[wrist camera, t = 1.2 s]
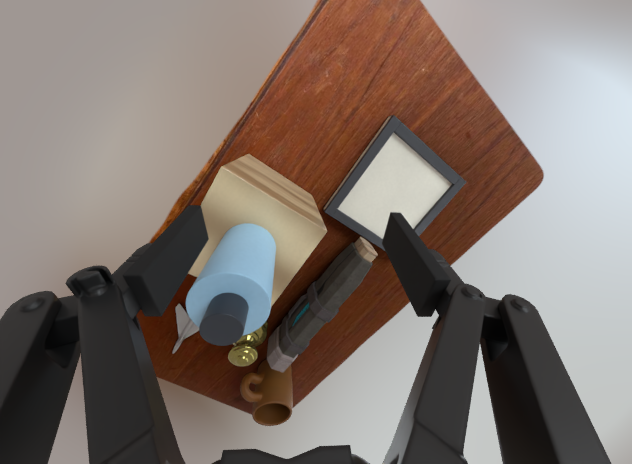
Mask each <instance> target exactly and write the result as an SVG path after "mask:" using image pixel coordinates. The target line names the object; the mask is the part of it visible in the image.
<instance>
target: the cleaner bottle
mask: <svg viewBox="0 0 632 464" xmlns="http://www.w3.org/2000/svg"><path fill="white" fill-rule="evenodd" d="M275 255H276V244H275V241H274V238H273V237H272V235H271V234H270V233H269V232H268V231H267V230H266V229H264V228H263V227H261V226H258V225H255V224H249V223H244V224H239V225H236V226H234V227H232V228H230V229H229V230H228V231H227V232H226V233H225V235H224V236H223V238H222V239H221V241H220V243H219V244H218V246H217V247H216V249H215V251H214V252H213V254H212V255H211V257H210V258H209V260H208V262H207V263H206V265H205V266H204V268H203V270H202V271H201V273H200V274H199V276H198V278H197V279H196V281H195V282H194V284H193V286H192V287H191V289H190V290H189V292H188V294H187V298H186V310H187V313H188V315H189V317H190V319H191V320H192V321H193V323H194V324H195V325H196V326H198V327H199V332H200V335H201V336H202V338H203V339H204V340H205V341H207V342H209V343H211V344H214V345H219V346H225V345H230V344H233V343H235V342H237V341H238V340H239V339H240V338H241V337H242V336H244V335H247V334H250V333H252V332H254V331H256V330H257V329H259V328H260V327H261V326H262V325H263V324H264V323H265V322H266V320H267V318H268V316H269V314H270V310H271V299H272V288H273V277H274V266H275Z"/></svg>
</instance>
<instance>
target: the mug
mask: <svg viewBox="0 0 632 464" xmlns="http://www.w3.org/2000/svg"><path fill="white" fill-rule="evenodd" d="M250 383H253V384H255V391H253V392H252V391H251V390H250V389H249V384H250ZM240 392H241V395H242V397H243V398H244V399H245V400H246V401H248V402H253V413H252V416H253V419H254V420H255V421H256V422H257V423H258V424H261V425H265V426H273V425H278V424H281V423H283V422H285V421H287V420H288V419H289V418H290V416H291V414H292V368H291V365H290V366H289V367H288V368H287V369H286V370H285V371H284V372H283V373H282V372H280V371H277V370H274V369H271V367H270V365H269V363H268V361H267V359H266V360H264V361H263V362H262V363H261V364H260V365H259V367H258V370H257V374H256V373H248V374H246V375H245V376H244V377H243V379H242V381H241V384H240Z"/></svg>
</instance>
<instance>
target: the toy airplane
mask: <svg viewBox="0 0 632 464" xmlns="http://www.w3.org/2000/svg"><path fill="white" fill-rule="evenodd" d="M175 309H176V318H177V326H178V335H179V339H178V340H177V342H176V344H175V346H174V349H173V352H172V353H175V352H176V351H177V349H178V348H179V347H180V345H181V343H182V342H183V340H184V339H185V338H187V337H189V336H190V335H192V334H194V333H195V332H197V331H199V327H198V326H196V325H195V324H194V323H193V321H192V320H191V319H190V317H189V316H188V314H187V313H186V312H185V310H184V309H183V307H182V306H181V305H180V303H179V304H178V305H177V307H176V308H175Z"/></svg>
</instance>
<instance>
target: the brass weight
mask: <svg viewBox="0 0 632 464" xmlns="http://www.w3.org/2000/svg"><path fill="white" fill-rule="evenodd" d="M267 323H268V318H267V320H266V322H265V323H264V324H263V325H262V326H261V327H260V328H259V329H257V330H256V331H254V332H252V333H250V334H247V335H244V336H242V337H241V338H240V339H239V340H238V341H237V342H235V343H233V344H232V345H234V347H233V348H232V349H231V350H230V351H229V353H228V359H229V361H230V362H231V363H232V364H234V365H236V366H248V365H251V364H252V363H254V362H255V361H256V359H257V356H258V353H257V350H256V349H255V347H257V346H259V345H261V344H262V343H263V342H264V340H265V339H266V336H267V326H268V325H267Z"/></svg>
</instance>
